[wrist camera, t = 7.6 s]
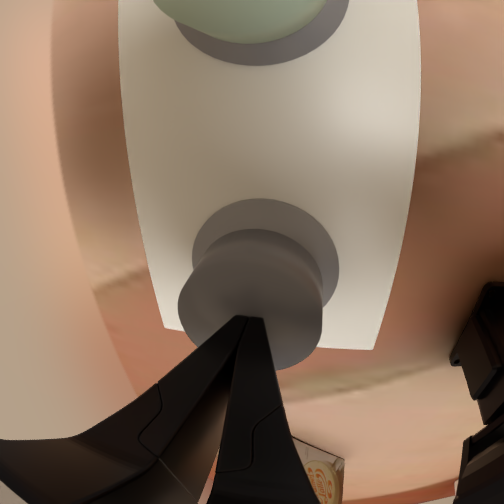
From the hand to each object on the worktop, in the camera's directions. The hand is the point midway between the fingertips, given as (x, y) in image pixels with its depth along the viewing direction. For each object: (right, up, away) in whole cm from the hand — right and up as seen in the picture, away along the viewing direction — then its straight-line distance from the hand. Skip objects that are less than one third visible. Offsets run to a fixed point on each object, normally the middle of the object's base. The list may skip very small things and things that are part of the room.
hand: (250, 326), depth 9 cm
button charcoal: (0, +1, +2) cm, 2 cm away
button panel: (+1, +12, 0) cm, 12 cm away
